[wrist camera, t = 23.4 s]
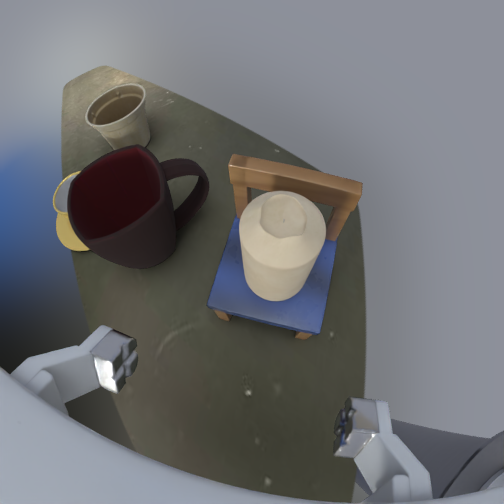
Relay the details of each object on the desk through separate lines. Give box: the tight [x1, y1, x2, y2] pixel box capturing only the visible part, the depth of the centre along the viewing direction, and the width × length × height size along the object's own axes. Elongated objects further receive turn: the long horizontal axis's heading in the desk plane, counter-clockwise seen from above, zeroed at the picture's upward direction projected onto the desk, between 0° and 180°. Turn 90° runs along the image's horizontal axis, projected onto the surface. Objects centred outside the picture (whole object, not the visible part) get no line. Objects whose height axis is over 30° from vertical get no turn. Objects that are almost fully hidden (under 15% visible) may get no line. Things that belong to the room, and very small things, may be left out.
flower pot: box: [85, 84, 150, 150], centre depth 39 cm, size 9×9×9 cm
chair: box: [207, 154, 362, 340], centre depth 26 cm, size 10×10×15 cm
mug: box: [67, 144, 209, 269], centre depth 30 cm, size 10×14×12 cm
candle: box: [239, 191, 326, 301], centre depth 22 cm, size 6×6×10 cm
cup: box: [53, 171, 89, 251], centre depth 35 cm, size 12×12×5 cm
